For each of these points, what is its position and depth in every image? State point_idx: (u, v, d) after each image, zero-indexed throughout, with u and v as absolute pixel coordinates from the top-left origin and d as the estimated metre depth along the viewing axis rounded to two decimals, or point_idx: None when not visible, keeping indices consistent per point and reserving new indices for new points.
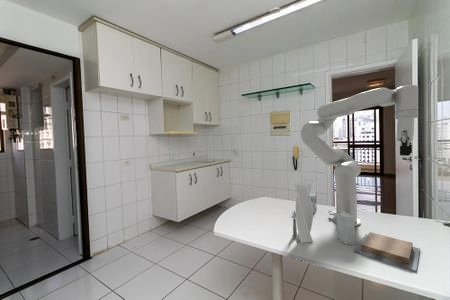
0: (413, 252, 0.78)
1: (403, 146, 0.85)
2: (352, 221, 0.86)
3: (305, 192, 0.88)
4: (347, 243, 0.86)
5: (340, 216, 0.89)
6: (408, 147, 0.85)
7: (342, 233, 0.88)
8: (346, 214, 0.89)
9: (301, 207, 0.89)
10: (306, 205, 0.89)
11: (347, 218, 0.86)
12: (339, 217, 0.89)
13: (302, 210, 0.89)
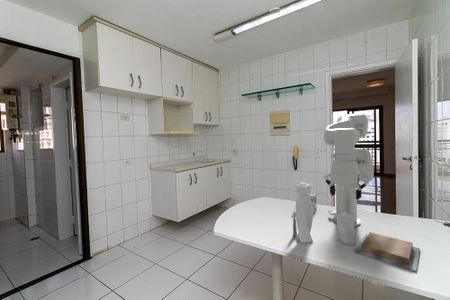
0: (413, 252, 0.78)
1: (360, 190, 0.83)
2: (352, 221, 0.86)
3: (305, 192, 0.88)
4: (347, 243, 0.86)
5: (340, 216, 0.89)
6: None
7: (342, 233, 0.88)
8: (346, 214, 0.89)
9: (301, 207, 0.89)
10: (306, 205, 0.89)
11: (347, 218, 0.86)
12: (339, 217, 0.89)
13: (302, 210, 0.89)
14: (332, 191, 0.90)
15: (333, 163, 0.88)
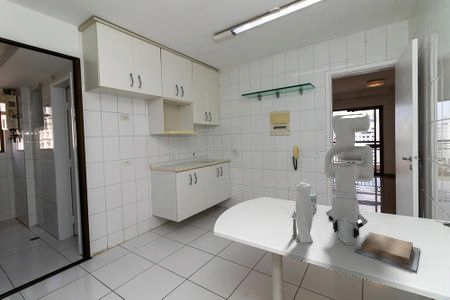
0: (413, 252, 0.78)
1: (358, 229, 0.85)
2: None
3: (305, 192, 0.88)
4: (347, 243, 0.86)
5: None
6: None
7: (342, 233, 0.88)
8: None
9: (301, 207, 0.89)
10: (306, 205, 0.89)
11: None
12: None
13: (302, 210, 0.89)
14: (335, 228, 0.91)
15: (334, 199, 0.89)
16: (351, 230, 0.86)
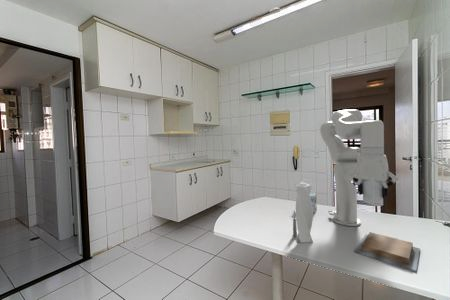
0: (413, 252, 0.78)
1: (387, 188, 0.78)
2: None
3: (305, 192, 0.88)
4: (374, 204, 0.79)
5: None
6: None
7: (369, 194, 0.81)
8: None
9: (301, 207, 0.89)
10: (306, 205, 0.89)
11: None
12: None
13: (302, 210, 0.89)
14: (360, 190, 0.83)
15: (359, 158, 0.82)
16: (379, 190, 0.79)
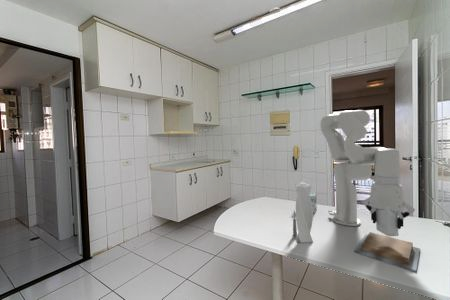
0: (413, 252, 0.78)
1: (403, 218, 0.76)
2: None
3: (305, 192, 0.88)
4: (389, 235, 0.77)
5: None
6: None
7: (383, 224, 0.79)
8: None
9: (301, 207, 0.89)
10: (306, 205, 0.89)
11: None
12: None
13: (302, 210, 0.89)
14: (374, 218, 0.81)
15: (373, 186, 0.80)
16: (394, 220, 0.77)
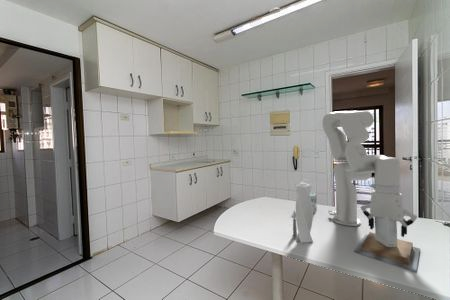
0: (413, 252, 0.78)
1: (406, 226, 0.75)
2: (394, 221, 0.77)
3: (305, 192, 0.88)
4: (388, 245, 0.78)
5: None
6: None
7: (382, 234, 0.79)
8: None
9: (301, 207, 0.89)
10: (306, 205, 0.89)
11: None
12: None
13: (302, 210, 0.89)
14: (371, 224, 0.82)
15: (374, 194, 0.80)
16: (393, 231, 0.77)
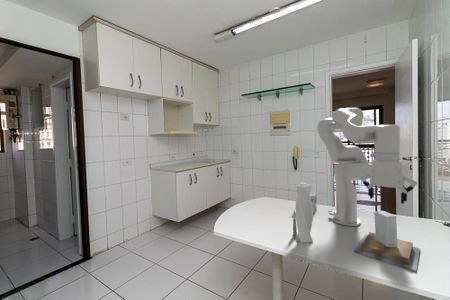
0: (413, 252, 0.78)
1: (406, 193, 0.75)
2: (394, 221, 0.77)
3: (305, 192, 0.88)
4: (388, 245, 0.78)
5: (379, 215, 0.80)
6: None
7: (382, 234, 0.79)
8: (386, 213, 0.80)
9: (301, 207, 0.89)
10: (306, 205, 0.89)
11: (389, 218, 0.77)
12: (378, 217, 0.81)
13: (302, 210, 0.89)
14: (371, 194, 0.82)
15: (373, 163, 0.80)
16: (393, 231, 0.77)
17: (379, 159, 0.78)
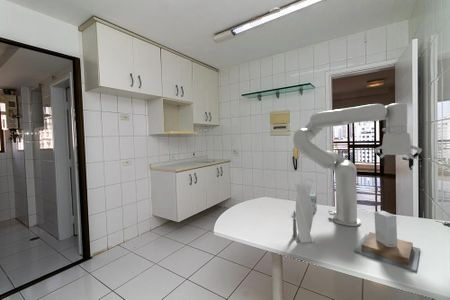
0: (413, 252, 0.78)
1: (413, 159, 0.91)
2: (394, 221, 0.77)
3: (305, 192, 0.88)
4: (388, 245, 0.78)
5: (379, 215, 0.80)
6: None
7: (382, 234, 0.79)
8: (386, 213, 0.80)
9: (301, 207, 0.89)
10: (306, 205, 0.89)
11: (389, 218, 0.77)
12: (378, 217, 0.81)
13: (302, 210, 0.89)
14: (383, 162, 0.98)
15: (385, 136, 0.96)
16: (393, 231, 0.77)
17: (390, 132, 0.94)
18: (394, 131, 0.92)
